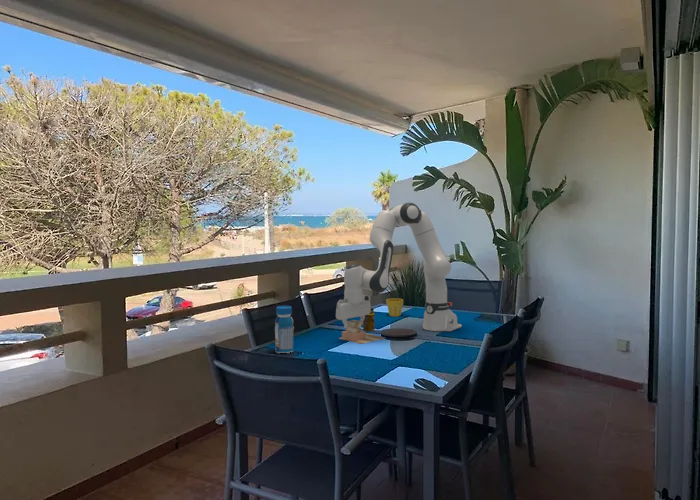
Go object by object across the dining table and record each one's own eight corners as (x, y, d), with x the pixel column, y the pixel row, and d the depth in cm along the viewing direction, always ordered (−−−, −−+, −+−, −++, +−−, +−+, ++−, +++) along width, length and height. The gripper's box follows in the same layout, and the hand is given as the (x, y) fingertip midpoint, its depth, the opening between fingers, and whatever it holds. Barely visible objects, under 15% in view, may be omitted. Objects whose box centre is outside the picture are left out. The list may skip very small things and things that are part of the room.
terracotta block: (354, 336, 244) (354, 329, 244) (365, 338, 238) (365, 331, 238) (342, 338, 239) (341, 331, 238) (353, 341, 233) (353, 334, 233)
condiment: (377, 331, 256) (377, 308, 256) (364, 333, 252) (364, 310, 251) (369, 328, 263) (369, 306, 262) (356, 330, 258) (356, 308, 257)
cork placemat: (363, 333, 251) (363, 332, 251) (386, 338, 239) (386, 337, 239) (338, 338, 240) (338, 338, 240) (361, 344, 228) (361, 344, 228)
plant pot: (384, 316, 295) (384, 300, 294) (388, 313, 304) (388, 298, 304) (401, 317, 292) (401, 301, 291) (404, 314, 301) (404, 298, 301)
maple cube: (354, 329, 242) (354, 319, 241) (361, 331, 238) (361, 321, 238) (346, 331, 238) (346, 321, 238) (353, 333, 235) (353, 322, 234)
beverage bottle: (285, 355, 211) (285, 309, 210) (271, 352, 216) (270, 307, 215) (298, 350, 219) (297, 306, 217) (283, 348, 223) (282, 304, 222)
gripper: (341, 301, 228) (341, 330, 229) (372, 296, 242) (372, 324, 243) (332, 299, 233) (333, 328, 233) (363, 295, 246) (364, 322, 247)
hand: (353, 326), depth 238 cm, fingers open, 8 cm apart
